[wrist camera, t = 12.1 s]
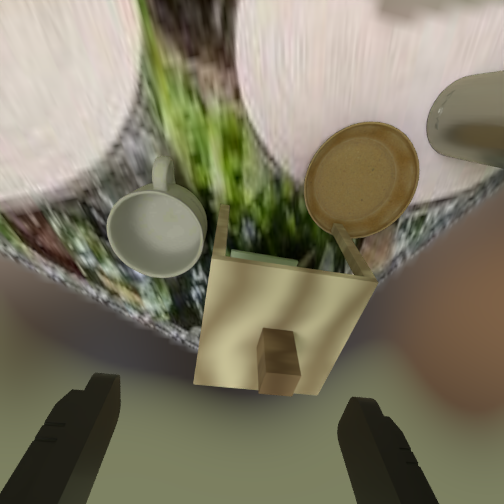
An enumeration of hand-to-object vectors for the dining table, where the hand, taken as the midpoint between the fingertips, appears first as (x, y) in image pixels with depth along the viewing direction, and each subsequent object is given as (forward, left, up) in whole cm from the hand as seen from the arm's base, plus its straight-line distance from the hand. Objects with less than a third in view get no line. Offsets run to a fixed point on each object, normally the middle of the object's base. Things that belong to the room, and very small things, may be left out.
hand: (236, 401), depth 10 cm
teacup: (+8, +4, -32) cm, 33 cm away
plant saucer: (-16, -4, -32) cm, 36 cm away
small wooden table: (-7, +11, -31) cm, 33 cm away
